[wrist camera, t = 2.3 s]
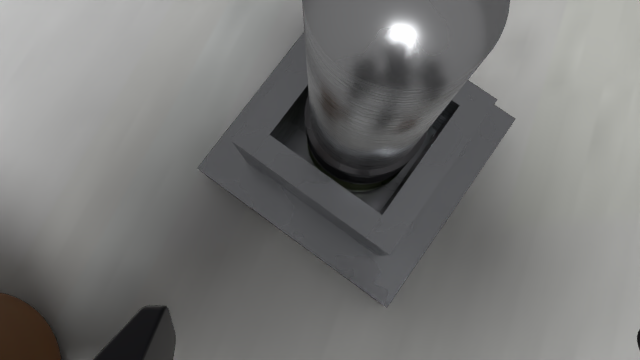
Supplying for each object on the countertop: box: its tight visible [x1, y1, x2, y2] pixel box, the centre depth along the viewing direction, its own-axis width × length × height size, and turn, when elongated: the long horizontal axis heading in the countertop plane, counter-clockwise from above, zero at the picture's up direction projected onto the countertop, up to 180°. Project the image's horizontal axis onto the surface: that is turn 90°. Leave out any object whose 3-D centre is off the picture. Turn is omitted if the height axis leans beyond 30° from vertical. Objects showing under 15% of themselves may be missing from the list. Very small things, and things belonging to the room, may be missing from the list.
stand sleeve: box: [197, 32, 515, 307], centre depth 20 cm, size 10×10×6 cm
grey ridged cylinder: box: [302, 0, 510, 192], centre depth 15 cm, size 4×4×12 cm
